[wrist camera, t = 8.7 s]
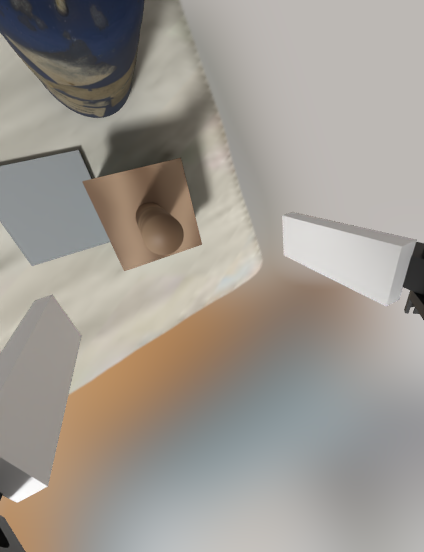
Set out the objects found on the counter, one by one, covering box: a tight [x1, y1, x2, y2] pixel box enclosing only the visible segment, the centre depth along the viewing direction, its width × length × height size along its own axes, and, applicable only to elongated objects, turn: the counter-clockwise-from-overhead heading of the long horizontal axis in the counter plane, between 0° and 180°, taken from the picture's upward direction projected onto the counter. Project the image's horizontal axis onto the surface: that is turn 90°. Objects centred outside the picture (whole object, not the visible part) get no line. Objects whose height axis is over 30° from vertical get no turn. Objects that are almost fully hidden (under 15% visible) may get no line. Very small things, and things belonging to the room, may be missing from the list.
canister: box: [0, 0, 144, 118], centre depth 16 cm, size 10×10×18 cm
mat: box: [0, 150, 110, 266], centre depth 28 cm, size 12×12×1 cm
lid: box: [82, 158, 202, 271], centre depth 23 cm, size 11×11×10 cm
